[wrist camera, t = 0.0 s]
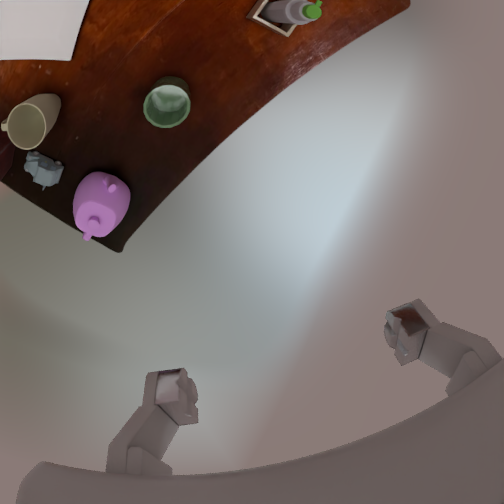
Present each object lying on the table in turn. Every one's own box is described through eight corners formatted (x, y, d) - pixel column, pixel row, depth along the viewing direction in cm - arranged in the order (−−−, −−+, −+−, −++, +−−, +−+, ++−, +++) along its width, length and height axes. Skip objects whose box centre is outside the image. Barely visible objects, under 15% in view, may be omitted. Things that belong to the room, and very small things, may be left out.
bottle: (288, 12, 38) (336, 14, 24) (272, 26, 40) (313, 32, 26) (272, -2, 35) (314, -9, 22) (255, 12, 37) (290, 9, 24)
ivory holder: (265, -11, 33) (274, -14, 30) (297, 8, 37) (309, 8, 33) (245, 17, 38) (252, 17, 34) (278, 34, 41) (288, 37, 37)
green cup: (159, 71, 42) (154, 79, 37) (197, 84, 46) (198, 94, 41) (143, 106, 47) (137, 120, 42) (179, 118, 51) (178, 133, 46)
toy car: (31, 148, 45) (22, 159, 42) (66, 163, 51) (59, 175, 48) (25, 170, 48) (17, 182, 45) (58, 185, 54) (51, 197, 51)
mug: (51, 72, 35) (22, 89, 27) (77, 104, 42) (55, 126, 34) (20, 108, 37) (-9, 132, 29) (45, 137, 44) (22, 165, 37)
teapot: (114, 227, 67) (107, 261, 59) (69, 208, 59) (56, 241, 51) (149, 168, 58) (144, 200, 50) (98, 143, 50) (82, 171, 42)
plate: (112, -44, 21) (109, -46, 20) (73, 59, 35) (70, 61, 34) (18, -37, 12) (13, -37, 10) (-10, 59, 25) (-15, 61, 24)
